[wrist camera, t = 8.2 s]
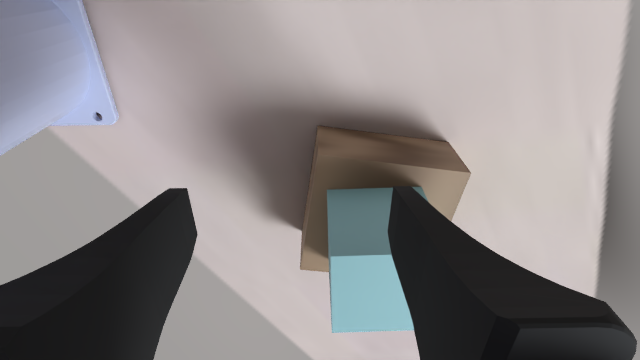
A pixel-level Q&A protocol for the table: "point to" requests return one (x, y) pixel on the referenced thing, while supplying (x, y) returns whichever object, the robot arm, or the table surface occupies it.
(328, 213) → the teal cube
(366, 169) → the walnut block
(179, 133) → the table surface
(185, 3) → the table surface
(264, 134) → the table surface
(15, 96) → the robot arm
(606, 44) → the table surface
